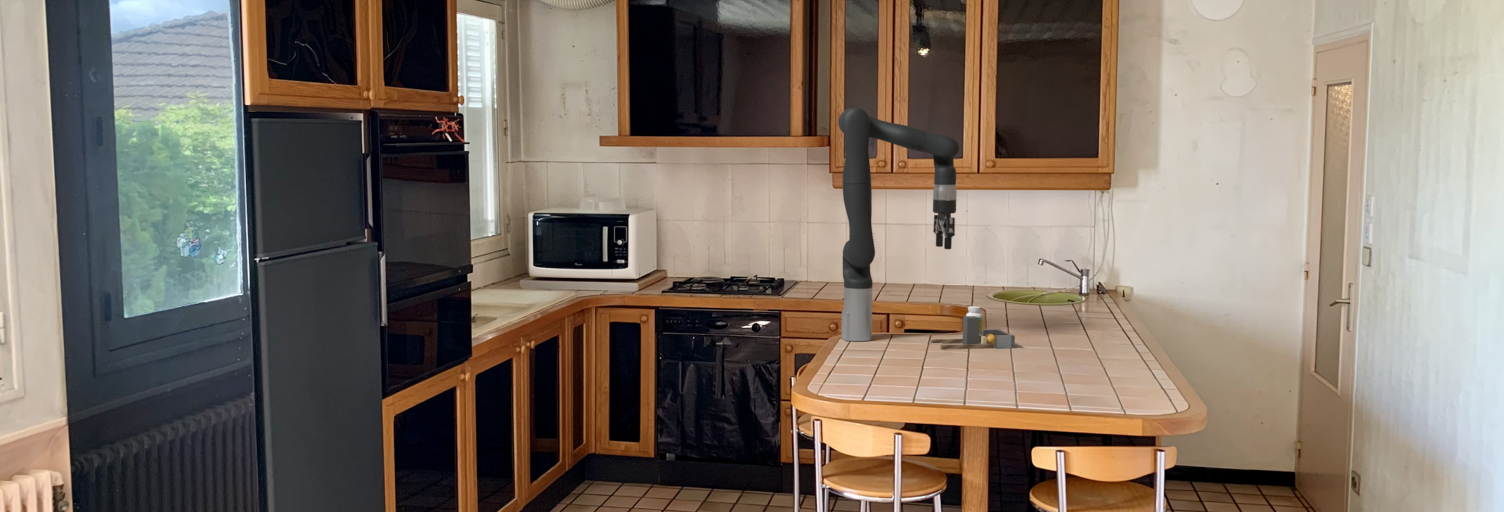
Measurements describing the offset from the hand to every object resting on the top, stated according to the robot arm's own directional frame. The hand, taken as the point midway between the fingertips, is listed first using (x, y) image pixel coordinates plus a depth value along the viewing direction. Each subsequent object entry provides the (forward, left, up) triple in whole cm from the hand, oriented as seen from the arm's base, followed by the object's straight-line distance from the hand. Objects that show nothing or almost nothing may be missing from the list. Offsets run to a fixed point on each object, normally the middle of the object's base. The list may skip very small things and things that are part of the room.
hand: (943, 247), depth 379 cm
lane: (+2, -13, -30) cm, 33 cm away
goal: (+14, -13, -30) cm, 36 cm away
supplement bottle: (+13, +5, -30) cm, 33 cm away
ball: (+12, -13, -28) cm, 33 cm away
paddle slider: (+6, -13, -30) cm, 33 cm away
